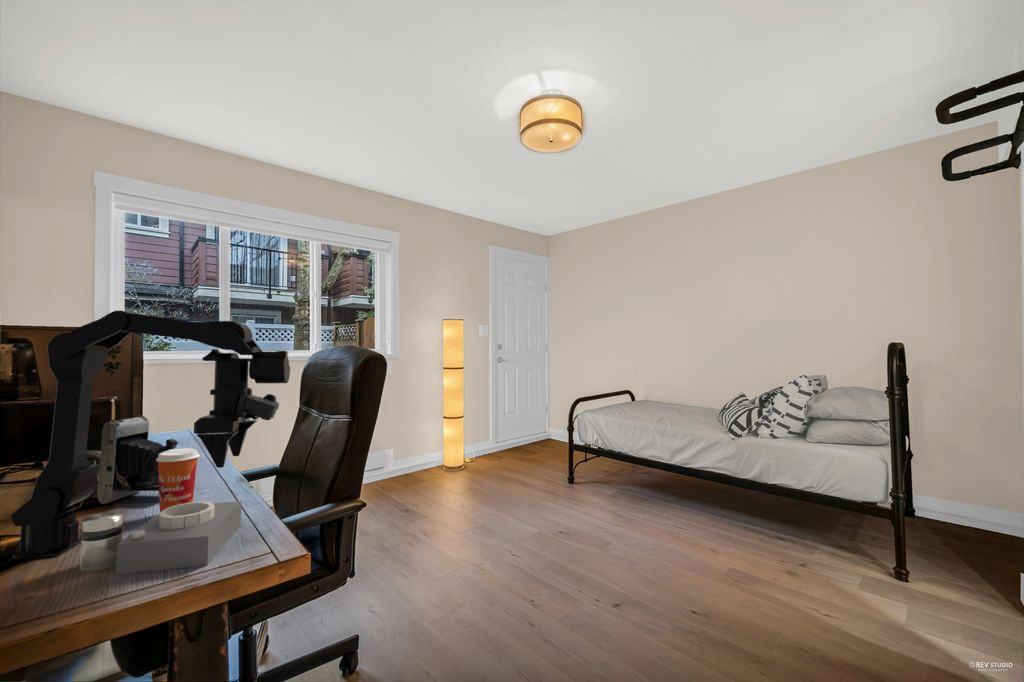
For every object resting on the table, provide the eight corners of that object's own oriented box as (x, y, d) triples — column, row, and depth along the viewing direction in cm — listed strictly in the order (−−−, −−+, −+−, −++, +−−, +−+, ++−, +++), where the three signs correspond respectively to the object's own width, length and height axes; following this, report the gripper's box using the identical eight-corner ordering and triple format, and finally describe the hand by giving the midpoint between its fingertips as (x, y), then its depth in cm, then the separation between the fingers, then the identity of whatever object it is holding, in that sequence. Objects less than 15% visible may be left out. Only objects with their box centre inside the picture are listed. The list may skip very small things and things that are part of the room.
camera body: (115, 574, 71) (117, 531, 71) (168, 531, 88) (169, 496, 89) (207, 565, 75) (208, 524, 75) (240, 525, 92) (241, 491, 92)
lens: (70, 573, 71) (72, 524, 72) (92, 558, 77) (93, 512, 77) (110, 569, 73) (112, 521, 73) (128, 555, 78) (130, 510, 78)
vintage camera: (158, 508, 102) (165, 423, 103) (93, 504, 102) (102, 419, 103) (189, 495, 112) (196, 417, 113) (130, 492, 112) (137, 414, 113)
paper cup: (146, 522, 93) (149, 456, 93) (164, 509, 100) (166, 448, 100) (188, 519, 95) (191, 454, 95) (203, 507, 102) (205, 447, 102)
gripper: (263, 387, 81) (260, 471, 81) (285, 380, 99) (283, 449, 99) (194, 387, 78) (190, 475, 78) (229, 380, 96) (227, 451, 95)
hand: (228, 461), depth 87 cm, fingers open, 9 cm apart
